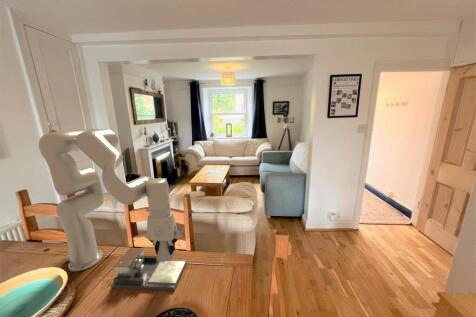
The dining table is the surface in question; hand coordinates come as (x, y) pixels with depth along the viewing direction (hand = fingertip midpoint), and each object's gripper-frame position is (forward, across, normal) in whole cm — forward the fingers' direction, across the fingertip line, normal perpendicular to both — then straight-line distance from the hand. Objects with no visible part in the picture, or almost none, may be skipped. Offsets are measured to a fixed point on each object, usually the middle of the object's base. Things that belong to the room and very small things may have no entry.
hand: (165, 251), depth 77 cm
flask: (+2, 0, 0) cm, 2 cm away
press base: (+11, -7, 0) cm, 13 cm away
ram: (+9, -15, 0) cm, 18 cm away
